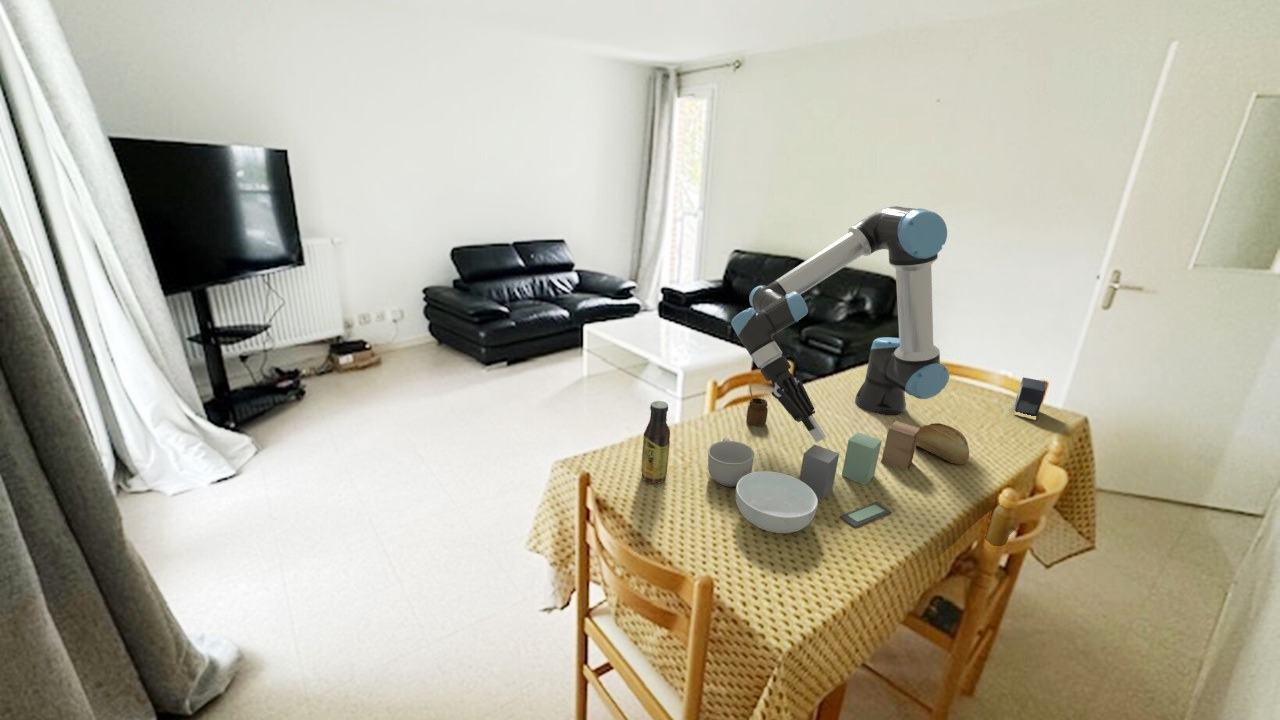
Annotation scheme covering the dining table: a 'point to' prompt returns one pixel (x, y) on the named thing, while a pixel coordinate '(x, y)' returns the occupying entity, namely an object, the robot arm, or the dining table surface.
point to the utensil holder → (757, 410)
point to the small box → (1030, 396)
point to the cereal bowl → (776, 501)
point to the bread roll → (944, 442)
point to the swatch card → (865, 514)
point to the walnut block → (900, 445)
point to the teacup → (729, 461)
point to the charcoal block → (819, 470)
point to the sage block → (861, 458)
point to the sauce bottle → (656, 444)
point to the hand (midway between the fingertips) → (821, 439)
